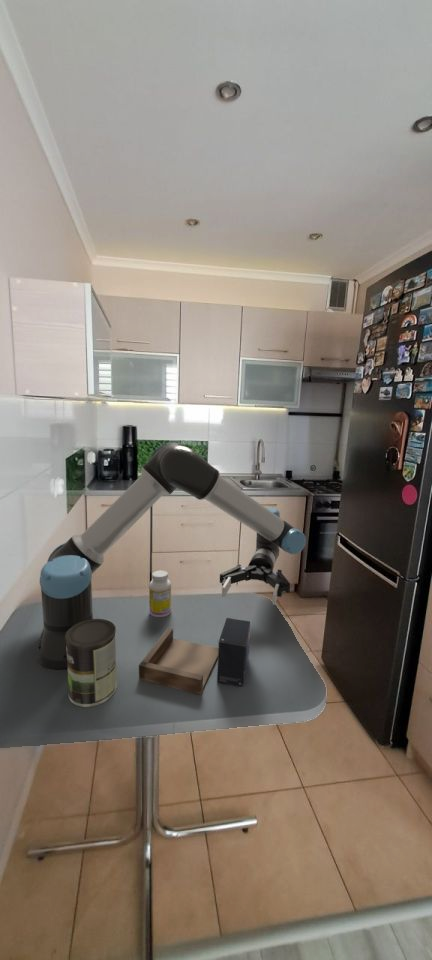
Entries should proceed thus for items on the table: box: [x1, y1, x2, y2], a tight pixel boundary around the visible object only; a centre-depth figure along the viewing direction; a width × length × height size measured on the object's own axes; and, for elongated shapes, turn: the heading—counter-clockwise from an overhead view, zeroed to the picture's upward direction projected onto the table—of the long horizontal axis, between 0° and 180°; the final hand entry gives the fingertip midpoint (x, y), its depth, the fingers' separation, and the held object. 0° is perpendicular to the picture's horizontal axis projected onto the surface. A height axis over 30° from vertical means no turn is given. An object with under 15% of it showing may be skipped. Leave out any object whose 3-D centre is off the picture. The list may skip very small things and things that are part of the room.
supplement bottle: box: [148, 569, 172, 618], centre depth 112 cm, size 7×7×13 cm
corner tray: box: [138, 627, 218, 696], centre depth 89 cm, size 15×16×4 cm
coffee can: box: [65, 618, 118, 708], centre depth 80 cm, size 10×10×14 cm
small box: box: [216, 617, 251, 687], centre depth 87 cm, size 11×6×10 cm, turn 168°
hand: (248, 595), depth 96 cm, fingers open, 13 cm apart
